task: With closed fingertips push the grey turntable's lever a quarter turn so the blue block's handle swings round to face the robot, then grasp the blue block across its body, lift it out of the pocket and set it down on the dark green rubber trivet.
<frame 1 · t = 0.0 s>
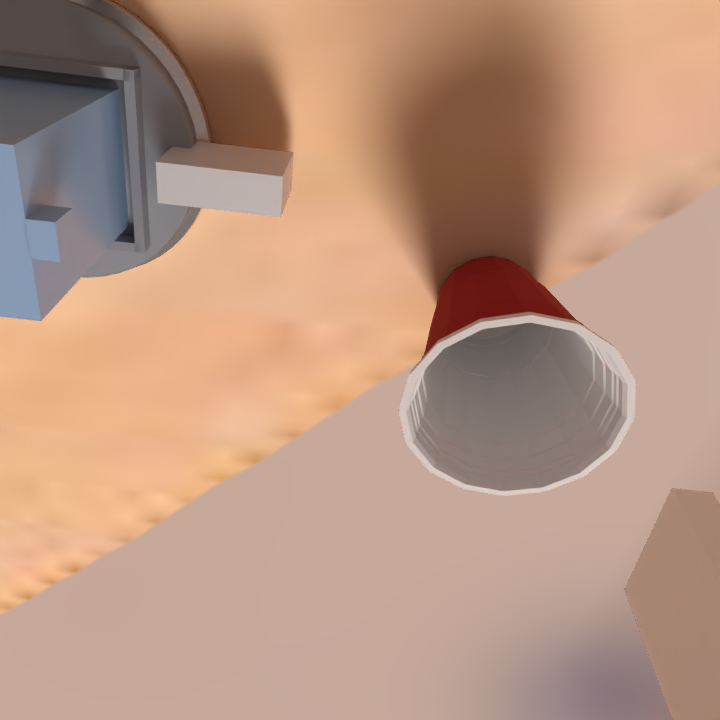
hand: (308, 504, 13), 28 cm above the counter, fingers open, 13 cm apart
blue block: (55, 152, 35), point 3 cm above the counter, touching turntable
turntable base: (75, 139, 37), on the counter
plastic cup: (483, 301, 42), on the counter
turntable: (99, 161, 34), point 3 cm above the counter, hinge at 0.0°, touching blue block
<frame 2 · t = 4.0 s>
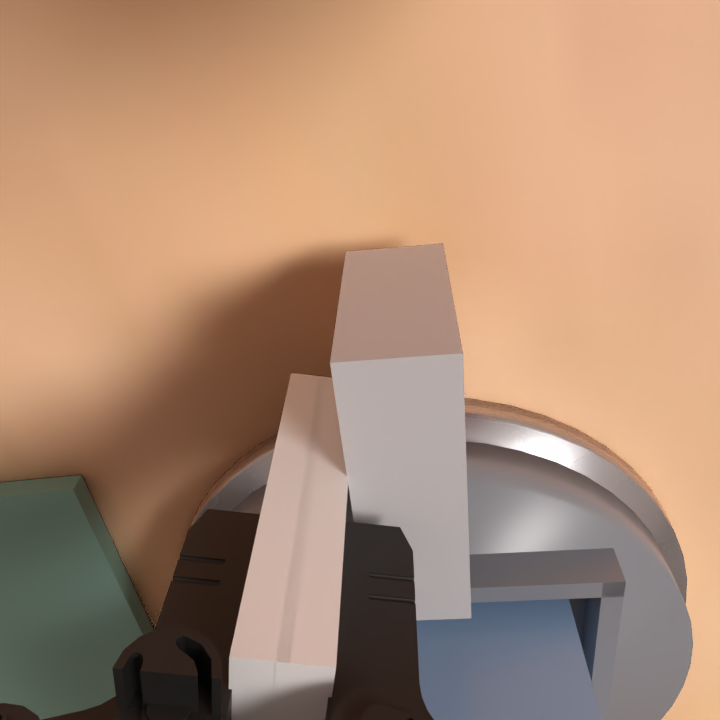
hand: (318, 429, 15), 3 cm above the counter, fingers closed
blue block: (428, 673, 19), point 3 cm above the counter, touching turntable
turntable base: (424, 596, 21), on the counter
turntable: (424, 637, 17), point 3 cm above the counter, hinge at 2.4°, touching gripper, blue block
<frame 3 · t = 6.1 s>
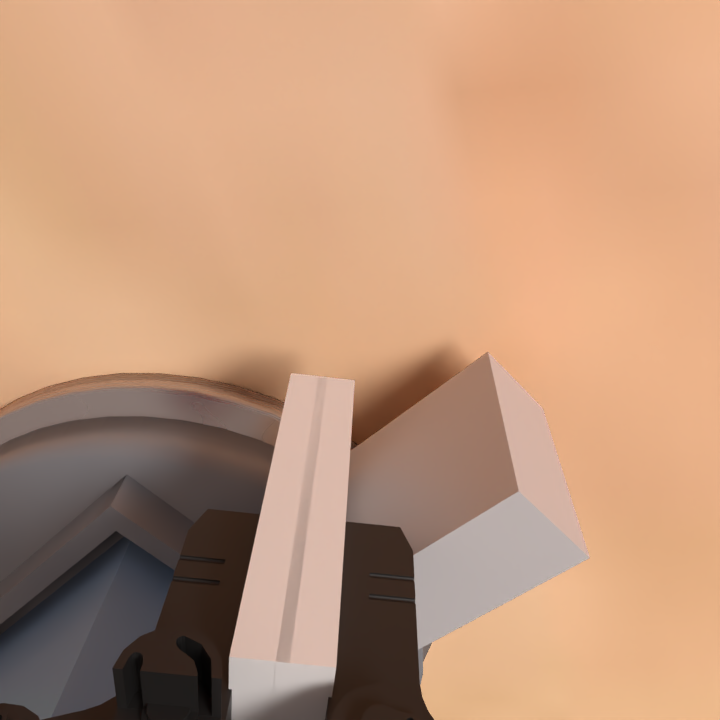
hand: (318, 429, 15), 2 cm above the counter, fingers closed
blue block: (163, 658, 18), point 3 cm above the counter, touching turntable
turntable base: (189, 581, 21), on the counter
turntable: (217, 643, 17), point 3 cm above the counter, hinge at 59.6°, touching gripper, blue block
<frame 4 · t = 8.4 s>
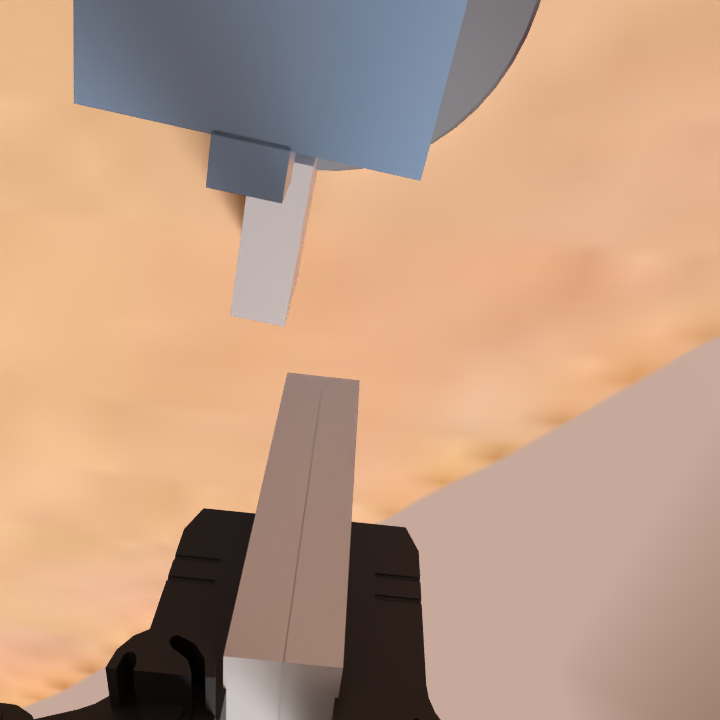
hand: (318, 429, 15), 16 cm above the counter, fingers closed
turntable: (307, 35, 22), point 3 cm above the counter, hinge at 96.2°, touching blue block
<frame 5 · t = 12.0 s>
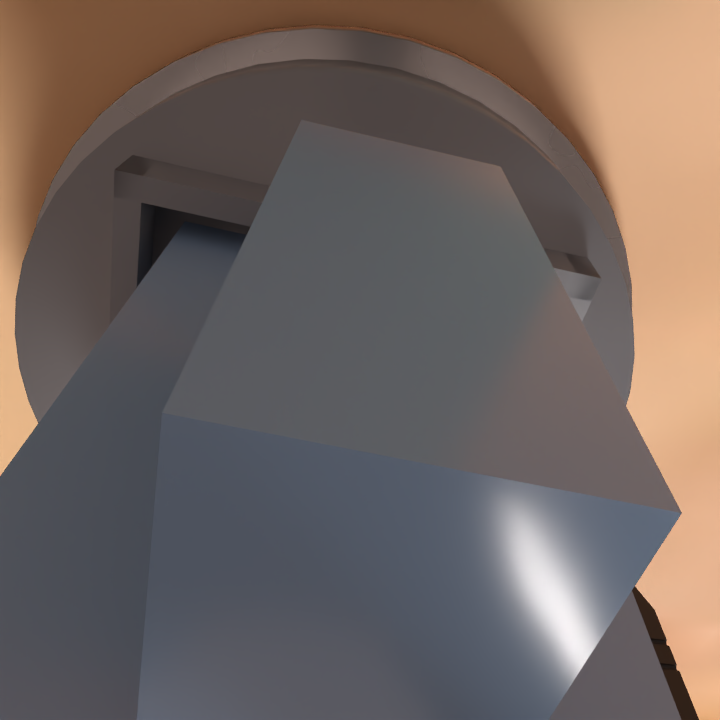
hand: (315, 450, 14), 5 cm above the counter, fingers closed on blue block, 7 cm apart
blue block: (323, 395, 16), point 3 cm above the counter, touching gripper, turntable
turntable base: (330, 339, 18), on the counter
turntable: (301, 494, 16), point 3 cm above the counter, hinge at 96.2°, touching blue block
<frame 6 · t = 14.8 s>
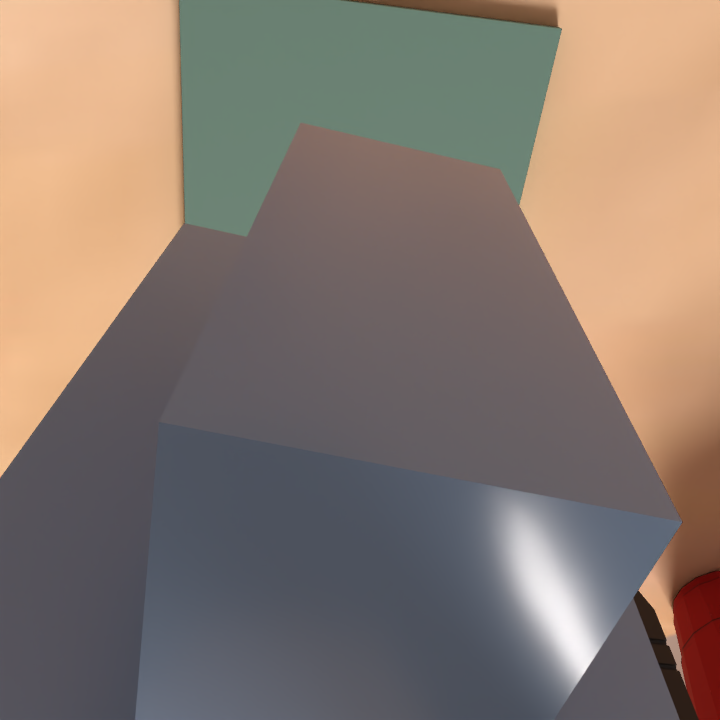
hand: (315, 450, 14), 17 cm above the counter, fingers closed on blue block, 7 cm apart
blue block: (322, 397, 16), point 15 cm above the counter, touching gripper
trivet: (352, 188, 29), on the counter
plastic cup: (716, 600, 42), on the counter
when the fingers open (4 cm above the counter, at t = 17.5 s): blue block drops 1 cm, resting on trivet.
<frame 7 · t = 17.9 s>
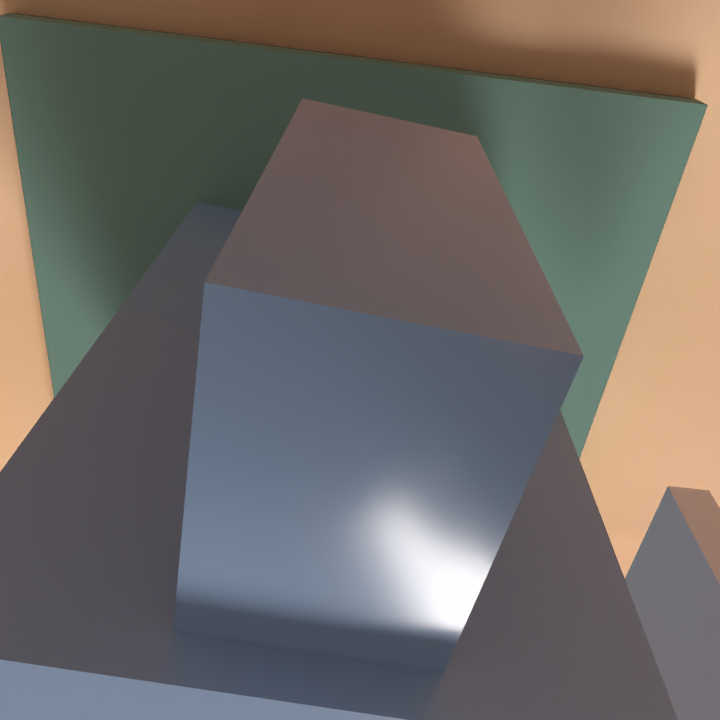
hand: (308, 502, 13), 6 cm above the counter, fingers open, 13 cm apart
blue block: (326, 363, 17), point 1 cm above the counter, touching trivet
trivet: (329, 350, 17), on the counter
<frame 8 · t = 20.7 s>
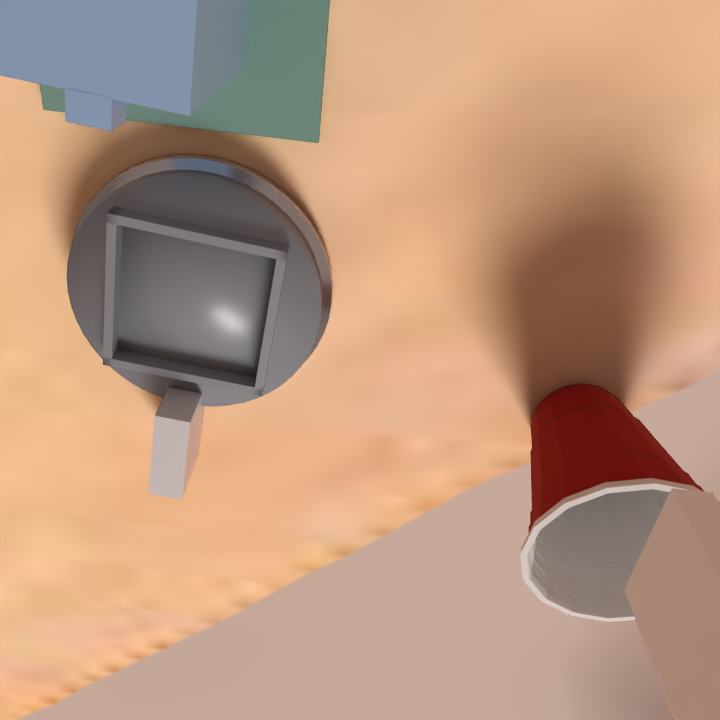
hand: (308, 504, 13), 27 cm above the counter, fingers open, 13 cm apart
turntable base: (205, 283, 40), on the counter
plastic cup: (573, 420, 44), on the counter
turntable: (187, 347, 38), point 3 cm above the counter, hinge at 96.2°
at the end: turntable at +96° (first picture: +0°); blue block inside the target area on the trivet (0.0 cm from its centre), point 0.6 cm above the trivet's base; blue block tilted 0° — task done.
